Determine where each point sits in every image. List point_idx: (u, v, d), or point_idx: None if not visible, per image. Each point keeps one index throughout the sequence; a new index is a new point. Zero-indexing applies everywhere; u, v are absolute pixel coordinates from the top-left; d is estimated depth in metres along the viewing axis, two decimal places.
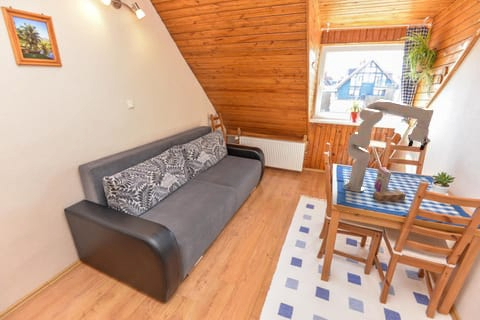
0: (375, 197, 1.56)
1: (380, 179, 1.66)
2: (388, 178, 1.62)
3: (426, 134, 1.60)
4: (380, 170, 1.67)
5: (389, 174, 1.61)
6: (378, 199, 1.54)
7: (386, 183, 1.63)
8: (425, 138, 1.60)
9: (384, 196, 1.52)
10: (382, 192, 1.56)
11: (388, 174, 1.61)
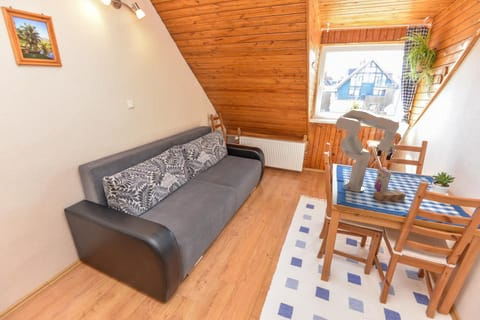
0: (375, 197, 1.56)
1: (380, 179, 1.66)
2: (388, 178, 1.62)
3: (392, 145, 1.65)
4: (380, 170, 1.67)
5: (389, 174, 1.60)
6: (378, 199, 1.54)
7: (386, 183, 1.63)
8: (391, 148, 1.65)
9: (384, 196, 1.52)
10: (382, 192, 1.56)
11: (388, 174, 1.61)
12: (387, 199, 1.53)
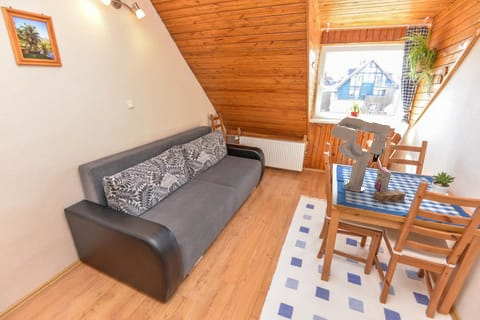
0: (375, 197, 1.56)
1: (380, 179, 1.66)
2: (388, 178, 1.62)
3: (383, 147, 1.66)
4: (380, 170, 1.67)
5: (389, 174, 1.61)
6: (378, 199, 1.53)
7: (386, 183, 1.63)
8: None
9: (384, 196, 1.52)
10: (382, 192, 1.56)
11: (388, 174, 1.61)
12: (387, 199, 1.53)
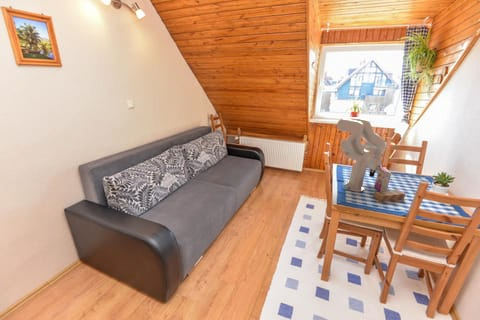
0: (376, 197, 1.56)
1: (380, 179, 1.66)
2: (388, 178, 1.62)
3: (379, 163, 1.71)
4: (380, 170, 1.67)
5: (389, 174, 1.61)
6: (378, 199, 1.53)
7: (386, 183, 1.63)
8: None
9: (385, 196, 1.52)
10: (382, 192, 1.56)
11: (388, 174, 1.61)
12: (387, 199, 1.53)
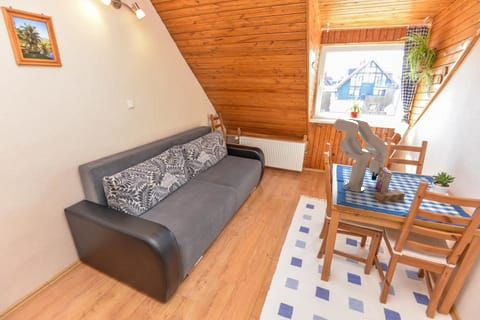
0: (376, 198, 1.55)
1: (381, 179, 1.65)
2: (389, 178, 1.61)
3: (382, 166, 1.68)
4: (381, 170, 1.67)
5: (390, 174, 1.60)
6: (379, 199, 1.53)
7: (387, 183, 1.62)
8: None
9: (385, 197, 1.52)
10: (382, 192, 1.56)
11: (388, 174, 1.60)
12: (387, 199, 1.53)
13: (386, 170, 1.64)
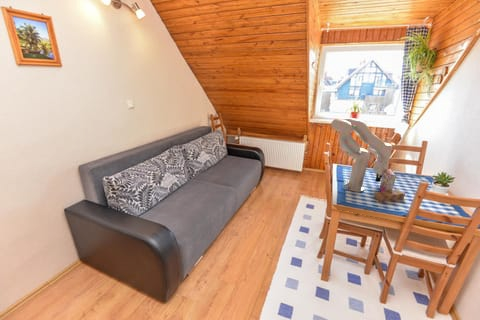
0: (376, 198, 1.55)
1: (385, 181, 1.62)
2: (393, 181, 1.57)
3: (386, 168, 1.65)
4: (385, 172, 1.63)
5: (394, 177, 1.56)
6: (379, 200, 1.53)
7: (390, 186, 1.59)
8: (383, 172, 1.67)
9: (385, 197, 1.52)
10: (382, 192, 1.55)
11: (392, 176, 1.56)
12: (388, 199, 1.53)
13: (390, 172, 1.60)
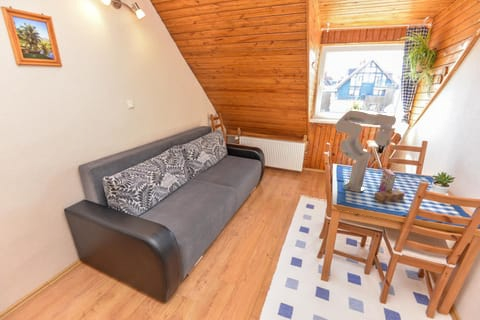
0: (376, 198, 1.55)
1: (385, 181, 1.62)
2: (393, 181, 1.58)
3: (388, 138, 1.65)
4: (385, 172, 1.63)
5: (394, 176, 1.56)
6: (379, 200, 1.53)
7: (390, 186, 1.59)
8: None
9: (385, 197, 1.51)
10: (383, 192, 1.55)
11: (392, 176, 1.57)
12: (388, 199, 1.53)
13: (390, 172, 1.61)
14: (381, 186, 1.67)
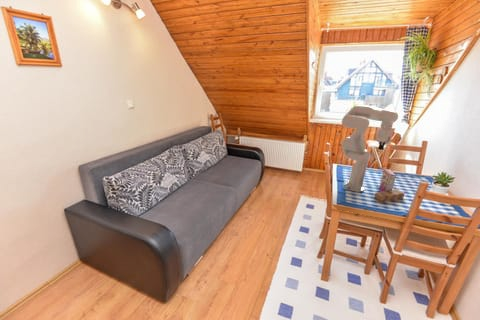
0: (377, 198, 1.55)
1: (385, 181, 1.62)
2: (393, 181, 1.58)
3: (389, 134, 1.69)
4: (385, 172, 1.63)
5: (394, 176, 1.56)
6: (380, 200, 1.52)
7: (390, 186, 1.59)
8: None
9: (386, 197, 1.51)
10: (383, 193, 1.55)
11: (392, 176, 1.57)
12: (388, 199, 1.53)
13: (390, 172, 1.61)
14: (381, 186, 1.67)
